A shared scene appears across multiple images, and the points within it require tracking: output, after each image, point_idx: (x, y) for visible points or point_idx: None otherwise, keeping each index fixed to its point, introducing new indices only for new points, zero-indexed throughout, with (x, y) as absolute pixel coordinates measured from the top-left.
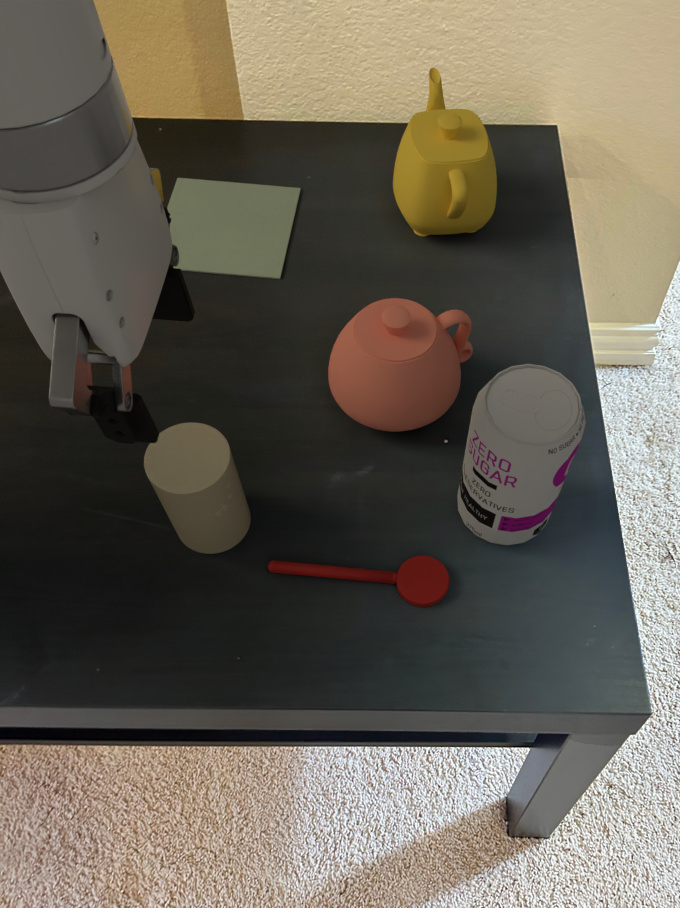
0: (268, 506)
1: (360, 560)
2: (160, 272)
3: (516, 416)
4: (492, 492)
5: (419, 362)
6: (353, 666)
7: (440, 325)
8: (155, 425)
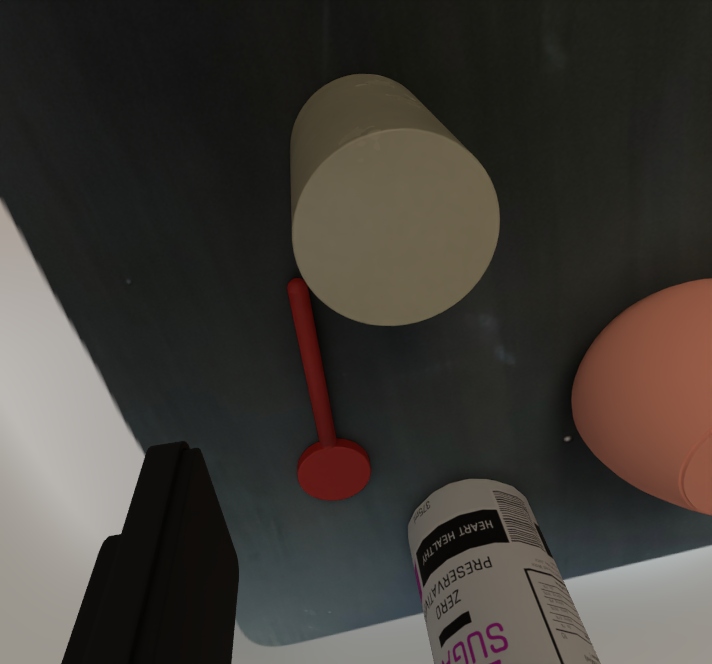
0: None
1: (347, 390)
2: None
3: None
4: (437, 625)
5: (680, 502)
6: (184, 424)
7: None
8: (236, 600)
